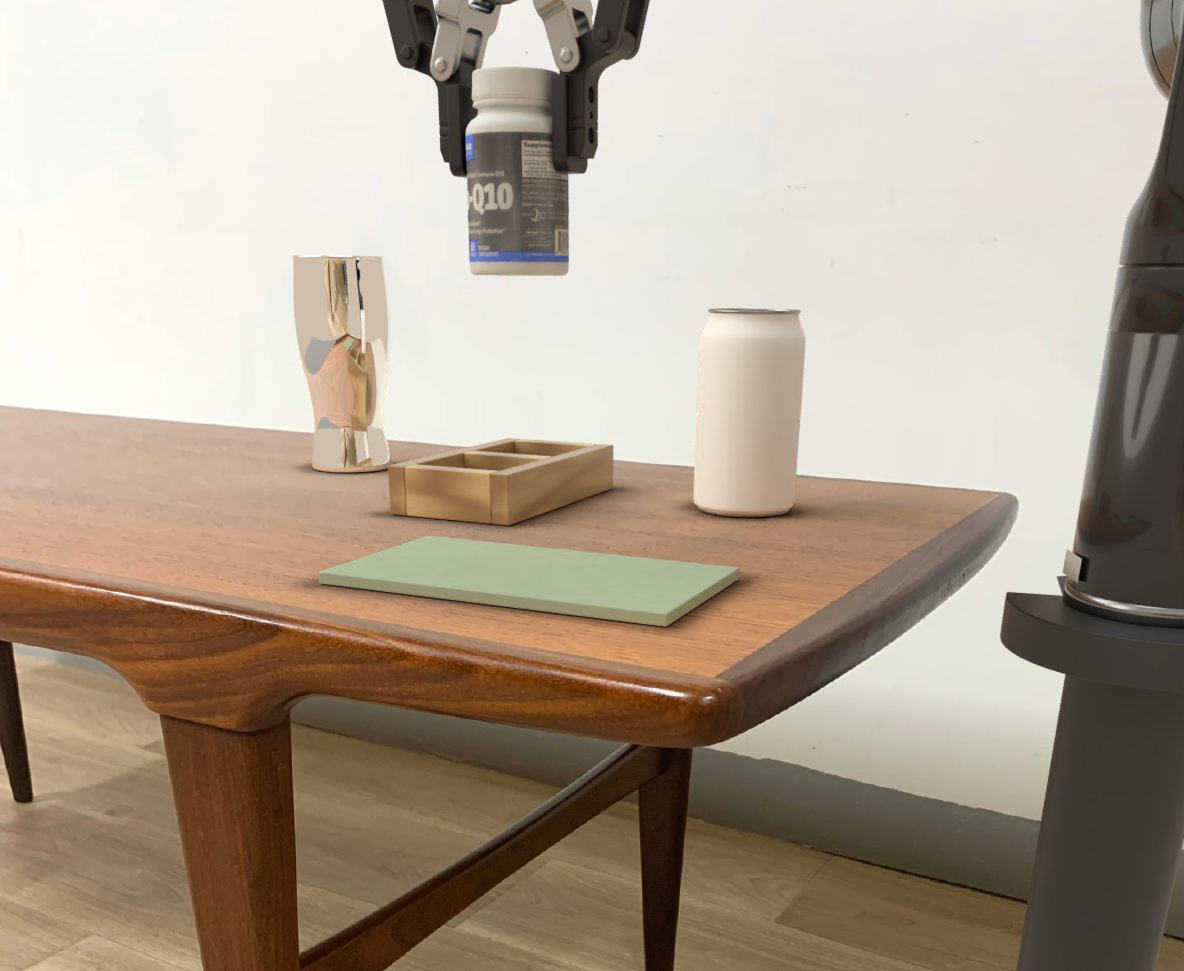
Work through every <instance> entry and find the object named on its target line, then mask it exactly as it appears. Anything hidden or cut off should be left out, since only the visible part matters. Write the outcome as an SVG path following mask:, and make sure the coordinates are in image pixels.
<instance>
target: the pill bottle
mask: <svg viewBox="0 0 1184 971" xmlns="http://www.w3.org/2000/svg"><path fill="white" fill-rule="evenodd" d="M552 76H559V73H558V71H554V70H550V69H546V68H539V67H529V66H491V67H489V66H488V67H482V68H480V69H477V70H475V71H473V73H472V100H473V102H474V103H473V108H475V109H478V115H477V117H476V118H474V119H473V120H471V121H470V123H469V124H468V126H467V129H466V164H467V178H466V184H467V185H466V188H467V189H466V190H467V191H466V192H467V200H466V201H467V223H468V225H467V228H468V261H469V262H468V263H469V269H470V270H469V271H470V272H471V274H472V275H474V276H514V277H515V276H526V277H527V276H528V277H529V276H532V277H533V276H535V277H537V276H538V277H539V276H540V277H541V276H542V277H543V276H544V277H545V276H550V277H551V276H556V277H557V276H558V277H565V276H566V275H567V274H568V272H569V268H570V267H569V266H570V264H569V263H570V202H569V199H570V197H569V195H570V193H569V192H570V191H569V189H570V188H569V184H570V183H569V180H570V179H569V175H570V174H565V173H559V172H556V171H555V169H554V166H553V157H552Z"/></svg>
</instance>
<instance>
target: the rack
mask: <svg viewBox="0 0 1184 971" xmlns="http://www.w3.org/2000/svg"><path fill="white" fill-rule="evenodd" d="M387 475H388V492H389V493H388V494H389V509H390V510H389V511H390V512H389V513H390V514H391V515H393V516H394V515H396V516H405V517H406V516H408V517H417V518H427V519H437V520H445V521H446V520H447V521H456V522H458V521H459V522H467V523H477V524H489V525H491V524H492V525H498V526H507V527H508V526H511V525H514V524H517V523H520V522H523V521H526V520H528V519H531V518H534V517H536V516H539V515H542V514H545V513H547V512H550V511H553V510H557V509H559V508H562V507H564V506H567V505H571V504H574V503H575V502H579V501H582V500H585V499H588V498H589V497H593V496H596V495H598V494H601V493H604V492H606V491H609V490H612V489H613V488H614V444H607V443H606V444H604V443H589V442H576V441H574V442H573V441H561V440H560V441H559V440H544V439H529V438H513V437H512V438H511V437H508V438H507V437H506V438H502V439H498V440H493V441H490V442H485V443H480V444H477V445H473V446H472V445H471V446H467V447H463V448H459V449H455V450H450V451H446V452H441V453H436V454H432V455H428V456H423V457H419V458H414V459H410V460H406V461H402V462H397V463H392V465H389V466H388V469H387Z"/></svg>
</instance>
